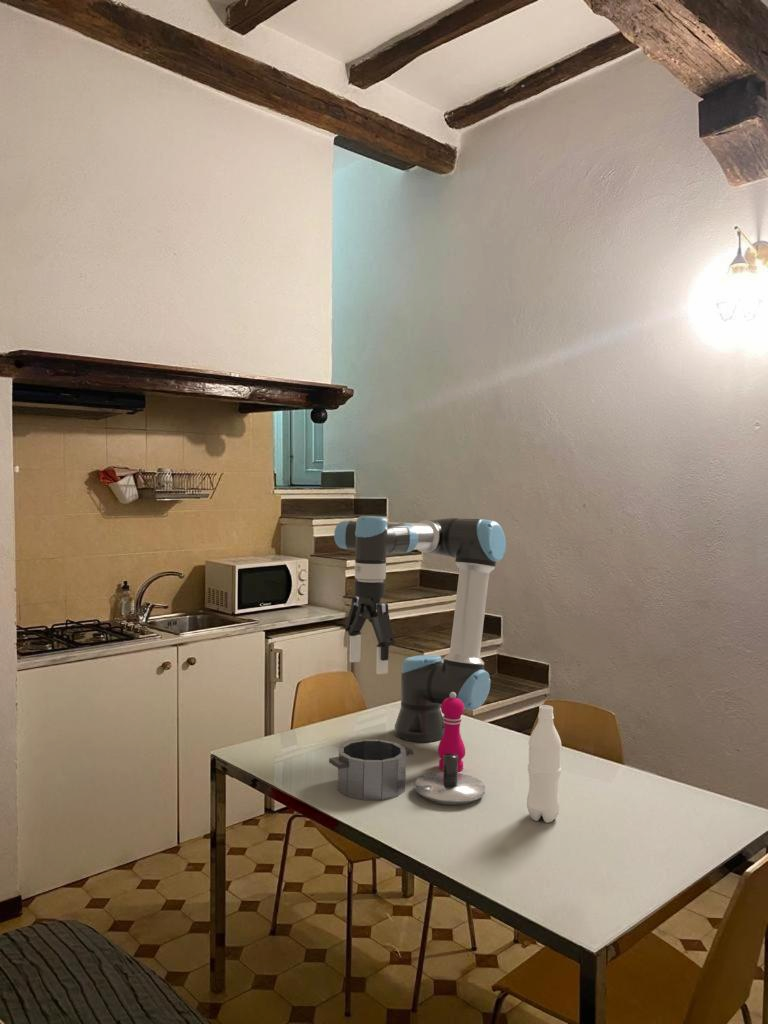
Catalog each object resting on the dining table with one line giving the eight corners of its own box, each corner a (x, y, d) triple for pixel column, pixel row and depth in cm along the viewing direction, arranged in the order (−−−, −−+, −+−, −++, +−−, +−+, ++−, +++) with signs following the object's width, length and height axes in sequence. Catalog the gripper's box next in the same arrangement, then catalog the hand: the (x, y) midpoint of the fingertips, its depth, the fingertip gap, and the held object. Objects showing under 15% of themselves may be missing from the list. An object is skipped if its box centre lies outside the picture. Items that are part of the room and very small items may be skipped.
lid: (456, 777, 200) (457, 740, 200) (499, 800, 186) (500, 760, 186) (401, 789, 192) (402, 751, 191) (442, 814, 178) (443, 772, 177)
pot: (389, 768, 205) (390, 734, 205) (425, 790, 191) (426, 753, 191) (317, 783, 194) (318, 747, 193) (350, 807, 180) (351, 768, 180)
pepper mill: (464, 764, 210) (466, 689, 209) (464, 773, 203) (467, 696, 202) (437, 762, 211) (439, 687, 210) (436, 772, 203) (438, 695, 203)
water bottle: (550, 827, 172) (554, 713, 171) (520, 818, 176) (524, 707, 175) (564, 817, 177) (568, 706, 177) (535, 808, 182) (538, 700, 181)
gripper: (333, 575, 200) (331, 658, 201) (382, 587, 179) (380, 680, 179) (359, 574, 204) (357, 655, 205) (410, 585, 182) (408, 677, 183)
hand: (368, 667), depth 192 cm, fingers open, 13 cm apart
